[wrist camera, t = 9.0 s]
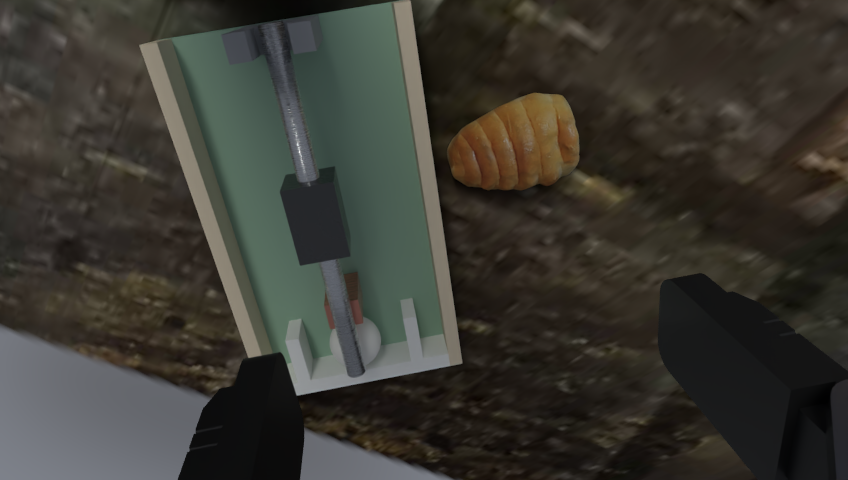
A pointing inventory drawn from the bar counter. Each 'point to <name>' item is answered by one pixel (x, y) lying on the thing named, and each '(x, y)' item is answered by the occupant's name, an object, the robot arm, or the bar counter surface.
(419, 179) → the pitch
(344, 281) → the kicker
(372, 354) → the ball
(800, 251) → the bar counter surface
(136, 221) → the bar counter surface
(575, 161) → the pastry
